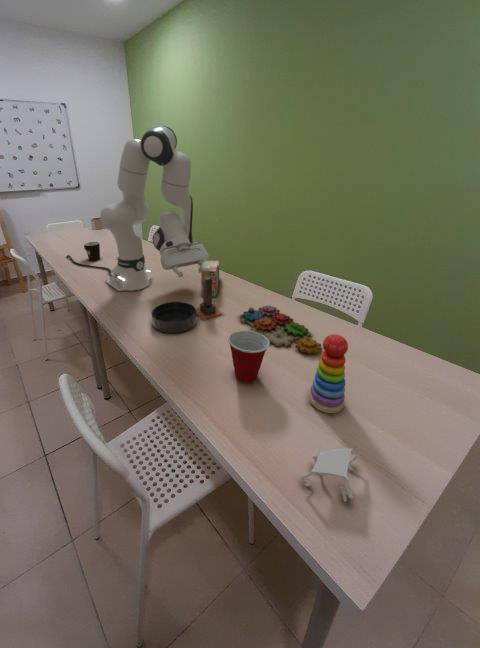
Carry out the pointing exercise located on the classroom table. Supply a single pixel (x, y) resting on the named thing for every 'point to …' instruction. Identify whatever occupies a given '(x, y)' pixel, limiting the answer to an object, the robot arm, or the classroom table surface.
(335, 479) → the classroom table surface
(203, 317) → the plate
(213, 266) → the food box
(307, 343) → the gear puzzle
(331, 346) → the stacking toy
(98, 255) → the coffee mug
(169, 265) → the robot arm
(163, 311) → the pan
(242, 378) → the plastic cup
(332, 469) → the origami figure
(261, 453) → the classroom table surface
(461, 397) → the classroom table surface
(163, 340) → the classroom table surface
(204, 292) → the brown post with base
